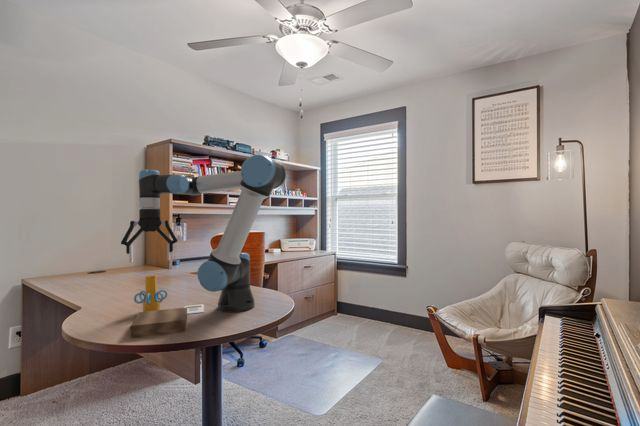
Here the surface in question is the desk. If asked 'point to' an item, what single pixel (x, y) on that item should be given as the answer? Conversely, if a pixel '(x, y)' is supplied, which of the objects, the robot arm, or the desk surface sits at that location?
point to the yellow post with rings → (150, 295)
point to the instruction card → (195, 309)
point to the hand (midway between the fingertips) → (150, 261)
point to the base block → (159, 322)
